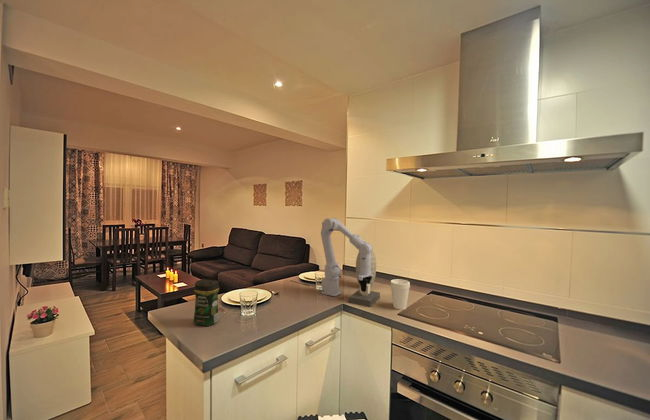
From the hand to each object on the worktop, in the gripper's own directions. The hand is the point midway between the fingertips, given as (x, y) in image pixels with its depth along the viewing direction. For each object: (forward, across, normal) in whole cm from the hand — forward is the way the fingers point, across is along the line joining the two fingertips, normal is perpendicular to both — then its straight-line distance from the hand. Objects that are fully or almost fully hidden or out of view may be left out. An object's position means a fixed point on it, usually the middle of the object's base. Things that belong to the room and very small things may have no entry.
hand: (364, 290), depth 146 cm
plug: (+5, 0, 0) cm, 5 cm away
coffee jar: (+6, -63, +48) cm, 79 cm away
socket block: (+5, 0, 0) cm, 5 cm away
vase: (+6, +22, +8) cm, 24 cm away
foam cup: (+6, 0, -19) cm, 20 cm away
